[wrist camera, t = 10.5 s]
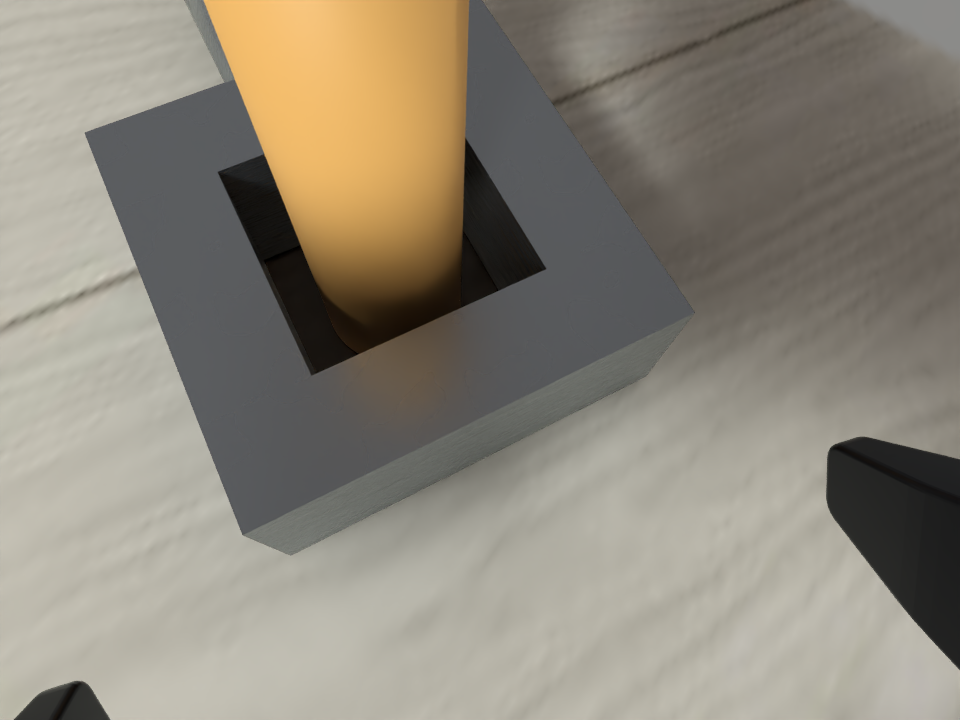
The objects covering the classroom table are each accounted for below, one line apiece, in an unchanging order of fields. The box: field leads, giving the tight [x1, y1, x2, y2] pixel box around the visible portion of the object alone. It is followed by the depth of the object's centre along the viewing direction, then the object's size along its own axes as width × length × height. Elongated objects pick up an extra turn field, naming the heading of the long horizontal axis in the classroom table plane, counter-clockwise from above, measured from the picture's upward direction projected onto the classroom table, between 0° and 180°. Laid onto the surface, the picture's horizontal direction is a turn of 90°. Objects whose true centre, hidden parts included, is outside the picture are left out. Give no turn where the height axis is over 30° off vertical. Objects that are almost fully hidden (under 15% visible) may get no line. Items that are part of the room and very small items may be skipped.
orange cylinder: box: [204, 0, 469, 354], centre depth 13 cm, size 4×4×13 cm
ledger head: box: [85, 0, 695, 556], centre depth 18 cm, size 18×10×4 cm, turn 27°
